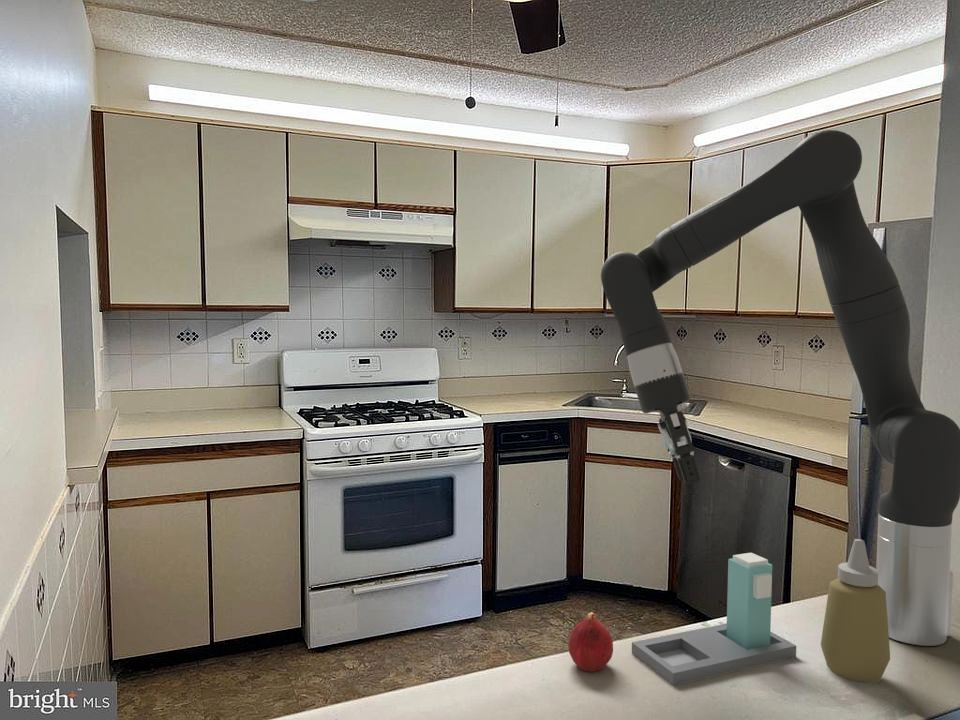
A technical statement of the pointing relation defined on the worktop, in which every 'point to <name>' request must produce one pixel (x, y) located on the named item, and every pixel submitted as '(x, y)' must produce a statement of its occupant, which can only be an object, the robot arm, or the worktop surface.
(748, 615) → the plug
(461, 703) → the worktop surface
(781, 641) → the panel
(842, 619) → the squeeze bottle
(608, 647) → the onion
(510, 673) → the worktop surface
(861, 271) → the robot arm
